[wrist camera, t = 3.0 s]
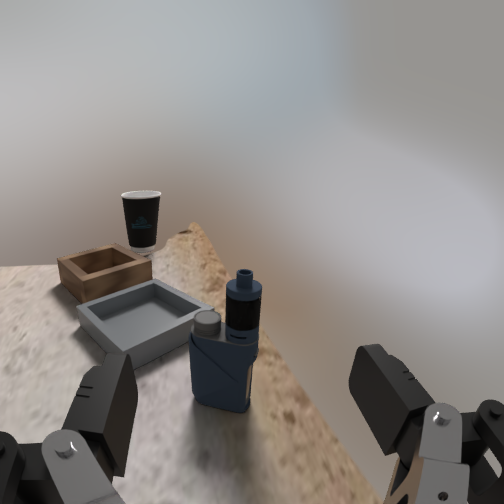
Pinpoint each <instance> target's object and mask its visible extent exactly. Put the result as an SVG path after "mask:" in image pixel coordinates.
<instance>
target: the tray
mask: <svg viewBox="0 0 504 504" xmlns="http://www.w3.org/2000/svg"><path fill="white" fill-rule="evenodd" d="M76 308H77V312H78V317H79V322H80V325H81V327H82V328H83V329H84V330H85V331H86V332H87V333H88V334H89V335H90V336H91V337H92V338H93V339H94V340H95V341H96V342H97V343H98V344H99V346H100V347H101V348H102V349H103V350H104V351H105V352H106V353H122V354H129V355H130V357H131V361H132V366H133V370H134V369H136V368H138V367H140V366H142V365H144V364H146V363H148V362H150V361H152V360H154V359H156V358H158V357H160V356H162V355H164V354H166V353H167V352H169V351H171V350H173V349H175V348H177V347H179V346H181V345H183V344H184V343H186V342H188V341H189V334H190V331H191V327H192V325H193V324H194V315H195V314H196V313H197V312H199V311H203V310H212V311H214V307H212V306H210V305H208V304H205V303H203V302H201V301H199V300H197V299H195V298H193V297H191V296H189V295H187V294H185V293H183V292H181V291H179V290H177V289H175V288H173V287H171V286H169V285H167V284H165V283H163V282H161V281H160V280H158V279H153V280H150V281H147V282H144V283H141V284H138V285H135V286H133V287H130V288H127V289H124V290H121V291H118V292H115V293H112V294H110V295H107V296H104V297H101V298H98V299H95V300H92V301H89V302H87V303H84V304H81V305H78V306H76Z"/></svg>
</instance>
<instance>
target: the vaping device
mask: <svg viewBox="0 0 504 504" xmlns="http://www.w3.org/2000/svg"><path fill="white" fill-rule="evenodd" d="M261 294H262V285H261V284H260V283H259V282H258V281H255V280H253V272H252V271H251V270H247V269H241V270H238V271H237V278H236V279H233V280H230V281H229V282H228V283H227V284H226V319H225V323H223V322H221V315H220V314H219V313H218V312H215V311H212V310H203V311H199V312H197V313H196V314H195V315H194V324H193V325H192V327H191V331H190V334H189V354H190V369H191V382H192V392H193V394H194V396H195V397H196V400H197V401H198V402H199V403H201V404H204V405H208V406H212V407H216V408H220V409H224V410H229V411H233V412H238V413H243V412H245V410H246V409H247V408H248V407H249V405H250V393H251V381H252V368H253V362H254V361H255V360H256V358H257V354H258V351H259V348H258V340H259V333H258V332H259V320H260V308H261V307H260V306H261V301H260V300H261ZM259 298H260V299H259Z"/></svg>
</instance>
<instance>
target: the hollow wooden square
mask: <svg viewBox="0 0 504 504" xmlns="http://www.w3.org/2000/svg"><path fill="white" fill-rule="evenodd" d="M57 261H58V268H59V274H60V280H61V283H62V284H63V285H64V286H65V287H66V288H67V289H68V290H69V291H70V292H71V293H72V294H73V295H74V296H75V297H76V298H77V299H78V300H79V301H80V302H81V303H82V304H84V303H87V302H89V301H92V300H95V299H98V298H101V297H104V296H107V295H110V294H112V293H115V292H118V291H121V290H124V289H127V288H130V287H133V286H135V285H138V284H141V283H144V282H147V281H150V280H153V278H152V263H151V260H150V259H148V258H145V257H143V256H141V255H139V254H137V253H135V252H133V251H130V250H128V249H126V248H124V247H122V246H120V245H118V244H116V243H115V244H111V245H107V246H103V247H99V248H95V249H91V250H87V251H84V252H79V253H76V254H72V255H68V256H64V257H61V258H57Z"/></svg>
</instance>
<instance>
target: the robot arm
mask: <svg viewBox="0 0 504 504" xmlns="http://www.w3.org/2000/svg"><path fill="white" fill-rule="evenodd" d="M349 389H350V393H351V395H352V396H353V398H354V400H355V401H356V404H357V405H358V407H359V409H360V411H361V412H362V414H363V416H364V418H365V420H366V422H367V423H368V425H369V427H370V429H371V431H372V432H373V434H374V436H375V438H376V440H377V442H378V444H379V445H380V447H381V449H382V451H383V453H384V454H385V456H386V455H389V454H392V453H396V452H397V453H398V455H399V457H398V459H397V461H396V464H395V468H394V471H393V475H392V478H391V482H390V485H389V488H388V491H387V495H386V498H385V500H384V503H383V504H467V502H468V503H469V504H504V405H503V404H502V403H500V402H498V401H496V400H485V401H483V402H482V403H481V404H480V406H479V408H478V409H477V411H476V412H469V413H459V411H458V410H457V409H456V408H454V407H453V406H451V405H448V404H445V403H435V402H434V400H433V399H432V398H431V396H430V395H429V394H428V393H427V391H426V390H425V389H424V388H423V387H422V385H421V384H420V383H419V382H418V380H417V379H415V377H414V375H413V374H412V373H411V372H409V369H408V368H407V367H406V366H405V365H404V363H403V362H402V361H400V360H399V359H397V358H396V357H394V356H392V355H388V354H387V352H386V351H385V350H384V349H383V347H382V346H381V345H380V344H372V345H365V346H360V347H358V349H357V351H356V355H355V359H354V362H353V366H352V370H351V373H350V377H349ZM137 403H138V389H137V384H136V380H135V375H134V371H133V366H132V361H131V357H130V355H129V354H122V353H107V355H106V357H105V359H104V362H103V364H102V366H93V367H92V368H91V369H90V370H89V371H88V372H87V373H86V374H85V375H84V376H83V379H82V381H81V383H80V388H78V390H77V392H76V396H75V397H74V400H73V402H72V404H71V407H70V409H69V412H68V414H67V417H66V419H65V422H64V424H63V427H62V429H61V430H57V431H55V432H52V433H51V434H49V435H48V436H47V437H46V438H45V439H44V441H43V443H31V444H18V443H17V442H16V440H15V439H14V437H13V436H12V435H10V434H9V433H6V432H2V431H0V504H125V502H124V501H123V500H122V498H121V497H120V496H119V494H118V493H117V492H116V490H115V489H114V487H113V486H112V481H113V476H118V477H124V474H125V468H126V462H127V456H128V450H129V444H130V439H131V433H132V428H133V423H134V418H135V413H136V408H137ZM489 448H490V450H491V451H492V453H493V454H494V455H495V457H496V458H497V460H498V461H499V463H500V464H501V467H502V473H501V476H500V477H499V478H498V477H497V475H496V474H495V472H494V470H493V469H492V467H491V466H490V465H489V463H488V461H487V460H486V458H485V457H484V454H485V453H486V451H487V450H488V449H489Z"/></svg>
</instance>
